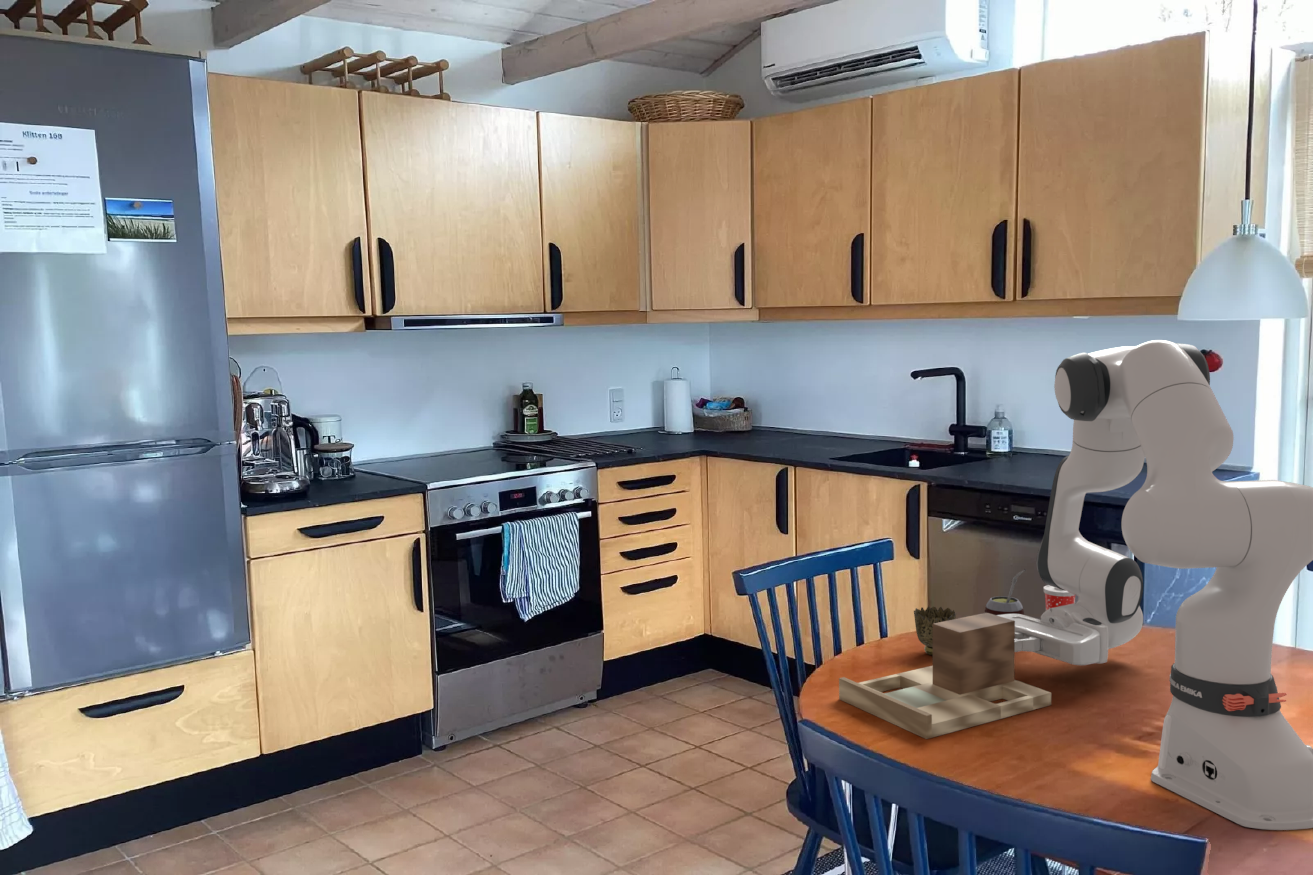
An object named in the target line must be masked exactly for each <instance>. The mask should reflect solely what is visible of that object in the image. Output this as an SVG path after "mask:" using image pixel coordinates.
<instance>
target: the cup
mask: <svg viewBox="0 0 1313 875" xmlns="http://www.w3.org/2000/svg"><path fill="white" fill-rule="evenodd" d="M913 617H914V623H915V631H916V632H915V633H916V636H917V639H918V641H919V642H920V643H921V644H922V645H924V647H923V649H924V652H925V653H926V654H927V655H929V656H933V624H934V623H939V622H944V621H948V620H953V619H957V613H956V611H955V610H954V609H953V610H952V609H951V608H950V607H947V608H945V609H944V608H943V607H942V606H940V607H939V608H938V609H937V607H936V606H932V607H930V605H929V606H927V607H926V609H924V607H921V608H918V607H916V608H915V610H913Z"/></svg>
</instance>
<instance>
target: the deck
mask: <svg viewBox="0 0 1313 875" xmlns="http://www.w3.org/2000/svg"><path fill="white" fill-rule="evenodd" d="M895 689H897V690H895ZM891 690H893V691H891ZM886 691H890V692H886ZM883 692H885V693H883ZM838 696H839V697H838V700H840V701H842V702H845V703H846V704H849V705H851V706H853V707H855V708H857V709H859V710H862V711H864V712H866V713H868V714H871V715H872V716H875V717H877V718H879V719H881V720H884V721H885V722H888V723H890V724H893V725H895V726H897V727H899V728H901V729H904V730H906V731H907V732H910V733H913V734H914V735H917V736H919V737H921V738H923V739H925V740H930V739H932V738H935V737H939V736H943V735H947V734H950V733H954V732H958V731H961V730H965V729H968V728H971V727H975V726H979V725H983V724H987V723H991V722H995V721H998V720H1002V719H1005V718H1009V717H1011V716H1012V717H1013V716H1016V715H1020V714H1023V713H1027V712H1030V711H1034V710H1036V709H1041V708H1045V707H1049V706H1052V692H1050V691H1048V690H1045V689H1042V688H1039V687H1036V686H1034V685H1031V684H1028V683H1025V682H1023V681H1020V680H1016V679H1014V681H1012V682H1008V683H1004V684H1000V685H996V686H992V687H988V688H984V689H980V690H977V691H973V692H969V693H965V694H961V695H959V694H957V693H954V692H951V691H949V690H946V689H944V688H941V687H939V686H936V685H934V684H933V665H930V666H925V667H920V668H916V669H912V670H908V671H903V672H898V673H895V674H890V675H886V676H882V677H877V678H872V679H869V680H864V681H859V682H856V681H854V680H852V679H849V678H847V677H845V676H843V677H839V678H838ZM1001 699H1003V700H1005V701H1003V702H1002V701H1001V702H998V703H994V702H995V701H997V700H1001Z"/></svg>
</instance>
